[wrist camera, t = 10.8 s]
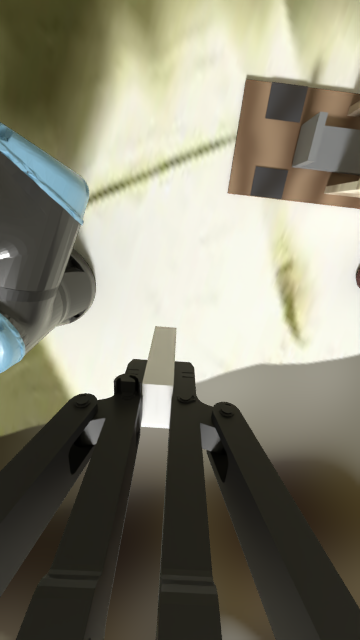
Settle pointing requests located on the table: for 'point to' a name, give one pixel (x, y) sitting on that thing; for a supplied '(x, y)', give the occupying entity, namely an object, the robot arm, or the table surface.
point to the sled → (327, 147)
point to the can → (358, 278)
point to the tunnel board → (290, 144)
